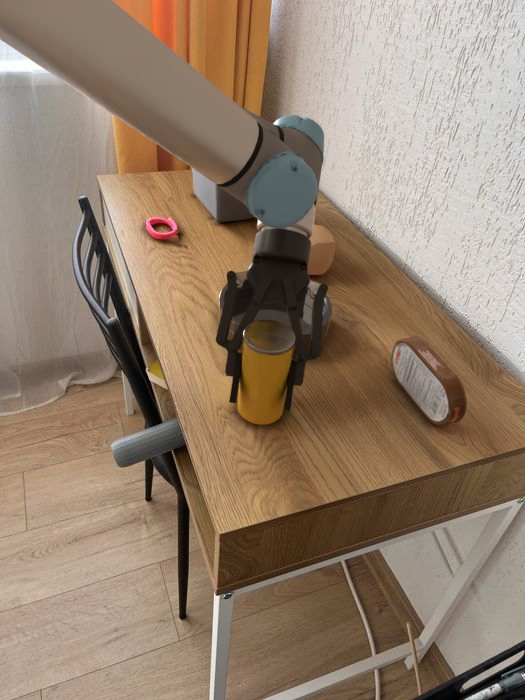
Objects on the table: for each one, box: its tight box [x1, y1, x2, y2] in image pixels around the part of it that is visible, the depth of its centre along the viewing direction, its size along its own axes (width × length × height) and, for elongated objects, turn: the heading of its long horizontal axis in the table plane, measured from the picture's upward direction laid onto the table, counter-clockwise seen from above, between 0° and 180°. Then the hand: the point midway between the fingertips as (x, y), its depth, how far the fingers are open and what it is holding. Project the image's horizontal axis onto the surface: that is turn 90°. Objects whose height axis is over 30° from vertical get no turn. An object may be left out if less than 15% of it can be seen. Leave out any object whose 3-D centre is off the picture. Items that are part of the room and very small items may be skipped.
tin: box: [390, 334, 468, 427], centre depth 75 cm, size 15×3×8 cm, turn 21°
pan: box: [217, 280, 333, 358], centre depth 88 cm, size 19×19×4 cm
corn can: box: [237, 320, 295, 426], centre depth 70 cm, size 6×6×13 cm
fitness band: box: [145, 217, 179, 240], centre depth 110 cm, size 8×6×2 cm
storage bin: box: [191, 167, 254, 223], centre depth 118 cm, size 21×16×14 cm
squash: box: [308, 223, 336, 276], centre depth 104 cm, size 11×20×9 cm, turn 28°
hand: (259, 406), depth 68 cm, fingers closed on corn can, 6 cm apart
